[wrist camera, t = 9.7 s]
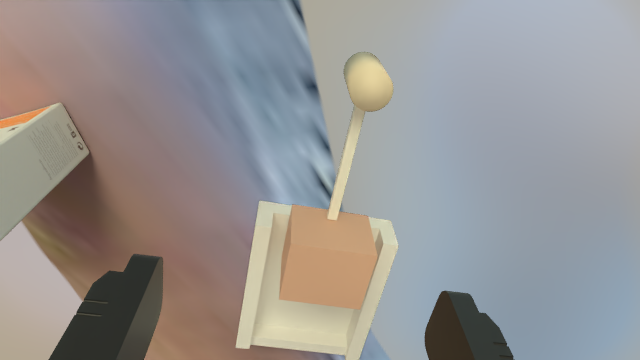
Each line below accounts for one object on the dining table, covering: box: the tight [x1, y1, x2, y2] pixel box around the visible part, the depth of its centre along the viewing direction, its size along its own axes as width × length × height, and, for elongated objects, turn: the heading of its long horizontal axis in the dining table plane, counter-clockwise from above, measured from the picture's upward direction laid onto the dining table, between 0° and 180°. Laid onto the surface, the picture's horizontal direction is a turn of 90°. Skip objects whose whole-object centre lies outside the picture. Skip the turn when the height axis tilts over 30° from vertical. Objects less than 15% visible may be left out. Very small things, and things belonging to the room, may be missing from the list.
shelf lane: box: [236, 201, 398, 360], centre depth 38 cm, size 13×11×4 cm
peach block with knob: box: [279, 52, 393, 310], centre depth 31 cm, size 17×6×6 cm, turn 169°
